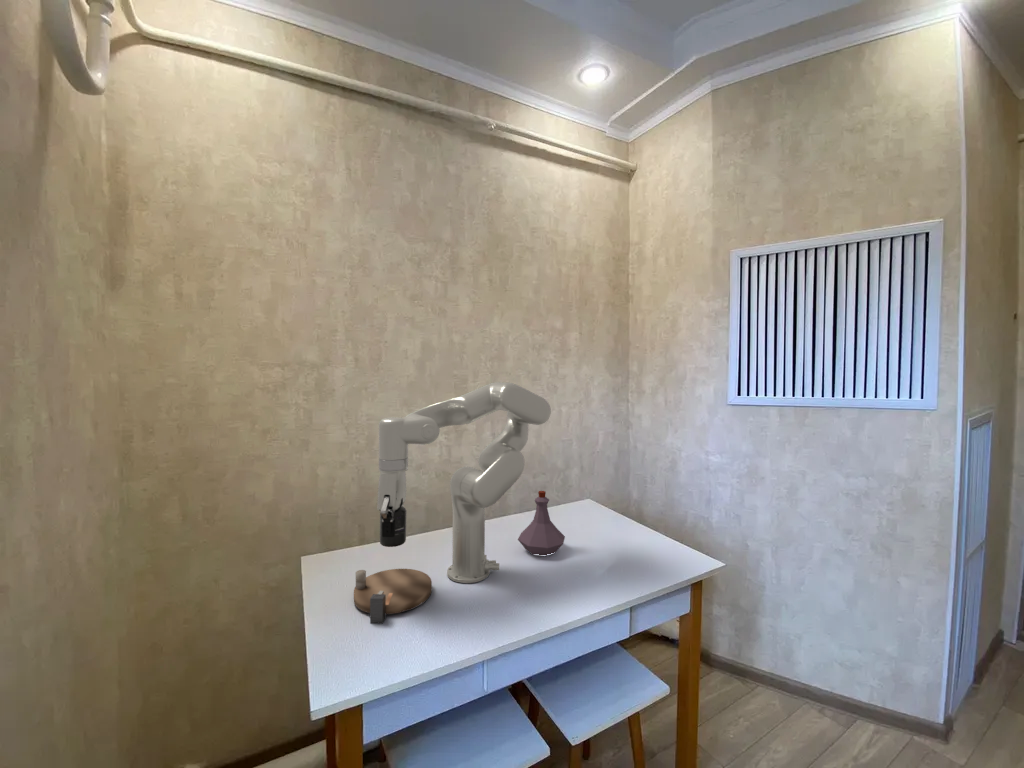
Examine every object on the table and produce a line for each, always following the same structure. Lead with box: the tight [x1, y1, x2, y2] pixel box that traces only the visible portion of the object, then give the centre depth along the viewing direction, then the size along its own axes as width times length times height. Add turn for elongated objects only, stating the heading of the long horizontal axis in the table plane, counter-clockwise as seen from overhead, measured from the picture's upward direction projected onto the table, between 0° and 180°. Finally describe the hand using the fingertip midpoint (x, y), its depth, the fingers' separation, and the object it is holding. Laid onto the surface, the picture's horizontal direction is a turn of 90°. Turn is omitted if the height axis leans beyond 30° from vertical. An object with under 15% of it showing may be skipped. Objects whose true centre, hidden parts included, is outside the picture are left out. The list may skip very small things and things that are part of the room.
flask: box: [517, 490, 566, 555], centre depth 144 cm, size 16×16×20 cm
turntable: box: [353, 568, 433, 615], centre depth 114 cm, size 20×20×6 cm
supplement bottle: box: [379, 498, 407, 548], centre depth 113 cm, size 7×7×12 cm
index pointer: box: [369, 591, 387, 625], centre depth 103 cm, size 3×4×6 cm
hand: (393, 530), depth 114 cm, fingers closed on supplement bottle, 6 cm apart
